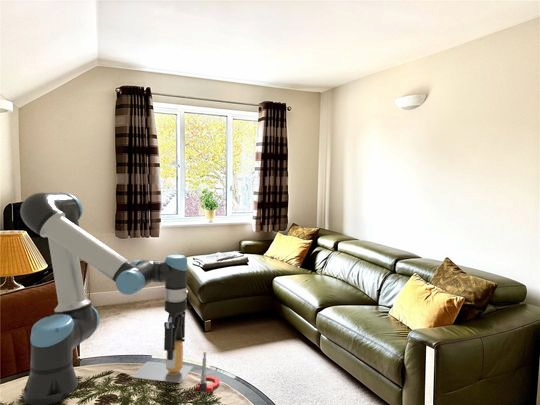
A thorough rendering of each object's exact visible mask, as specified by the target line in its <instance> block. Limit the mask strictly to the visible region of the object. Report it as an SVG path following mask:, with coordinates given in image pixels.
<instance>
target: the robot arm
mask: <svg viewBox="0 0 540 405" xmlns="http://www.w3.org/2000/svg"><path fill="white" fill-rule="evenodd" d="M19 212H20V213H19V214H20V217H21V219H22V222H23V223H24V224H25V225H26V226H27V228H29V229H30V230H31V231H33V232H34V233H36V234H37V235H39V236H40V237H42V238H47V239H48V240H47V241H48V246H49V252H50V258H51V260H50V261H51V265H52V270H53V271H52V272H53V278H54V283H55V284H54V285H55V290H56V295H57V303H58V304H57V306H56V307H55V308H54V310H53V311H54V314H53V315H49V316H44V317H42V318H41V319H39V320H38V321H36V322H35V323H34V324H33V326H32V328H31V333H30V338H29V339H30V340H29V341H30V370H29V372H30V373H29V375H28V378H27V381H26V383H25V387H24V389H23V395H22V396H23V398H22V399H23V401H24V403H26V404H28V405H52V404H56V403H59V402H62V401H64V400H66V399H67V398H70V397H72V395H71V394H70V393H72V391H74V390H75V389H76V388H77V387H78V385H79V379H78V376H77V375H76V372H75V368H74V365H73V356H74V355H73V353H74V352H73V350H74V349H75V348H76V347H78V346H79V345H80V344H81V343H83V342H85V341H86V340H87V339H89V338H91V336H92V335H93V334H94V333H95V332H96V331H97V329H98V327H99V324H100V315H99V312H98V310H97V309H96V308H95V307H94V306H93V305H92V302H91V300H90V299H88V298H87V297H86V293H85V286H84V280H83V275H82V274H83V273H82V267H81V262H80V259H81V260H82V261H83V262H85V263H86V264H88V265H89V266H92V267H93V268H94V269H95V270H97V271H98V272H100V273H101V274H103V275H104V276H106V277H107V278H109V279H110V280H112V281H113V282H115V286H116V288H117V290H118V291H119V293H121V294H123V295H126V296H129V295H133V294H136V293H138V292H140V291H141V290H143V288H146V286H147V285H149V284H151V283H164V299H165V300H164V311H165V313H168V315H167V316H168V318H167V321H165V322H164V324H163V326H164V339H163V340H164V342H163V344H164V345H163V350H164V351H166V360H167V368H172V369H174V368H175V349H174V347H175V340H180V341H182V343H183V342H184V343H185V337H186V336H185V332H186V330H185V329H186V313H187V312H186V310H187V304H188V303H187V301H188V300H187V299H186V298H187V295H188V293H189V291H188V289H187V288H188V270H189V269H188V258H187V256H185V255H182V254H170V255H166V257H165V260H147V259H135V260H133V261H129V260H128V259H127V258H125V257H124V256H122V255H121V254H119V253H118V252H116V251H115V250H113V249H112V248H110V247H109V246H108V245H107V244H105V243H103V242H102V241H101V240H98V239H97V238H95V237H94V236H93V235H91V234H90V233H88V232H86V231H85V230H84V229H82V228H81V227H80V224H79V220H80V219H81V217H82V215H83V204H82V203H81V201H80V200H79V199H78V198H77V197H76V196H74V195H72V194H71V193H67V192H62V191H61V192H37V193H33V194H31V195H29V196H28V197H26V198H25V199H24V200H23V201H22V203H21V206H20V210H19Z"/></svg>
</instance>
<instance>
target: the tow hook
mask: <svg viewBox="0 0 540 405" xmlns="http://www.w3.org/2000/svg"><path fill="white" fill-rule="evenodd" d="M202 356H203V357H202V362H201V363H202V365H201V376H200V381H199V383H198V384H197V385H196V387H195V388H194V391H199V392H209V393H213V390H214V389H216V388H218V387H219V384H220V380H219V378H217V377H215V376H210V375H206V372H207V371H206V369H207V352H206V351H203V355H202ZM208 381H212V382H214V383H212V384H208Z"/></svg>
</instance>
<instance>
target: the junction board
mask: <svg viewBox="0 0 540 405" xmlns="http://www.w3.org/2000/svg"><path fill="white" fill-rule="evenodd" d="M193 367H194V366H193V365H186V364H185V365H184V364H183V366H182V369H181V370H179V371H176V372H170V371H168V370H167V369H166V363H165V362H160V361H159V362H157V361H146V362H145V363H144V364H143V365H142V366H141V367H140V368H139V369H138V370H137V371H135V373H133V375H131V378H135V379H141V380H142V379H143V380H151V381H161V382H169V383H177V384H178V383H179V384H182V382H183V381H184V379H185V378H186V377H187V375H188V374H189V373H190V372H191V371H192V369H193Z"/></svg>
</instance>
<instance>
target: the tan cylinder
mask: <svg viewBox="0 0 540 405" xmlns="http://www.w3.org/2000/svg"><path fill="white" fill-rule="evenodd" d="M174 349H175V368H174V369H172V368H167V359H165V360H166V369H167V370H168V371H170V372H176V371H179V370H181V369H182V366H183V365H184V364H183V361H184V358H183V357H184V355H183V354H184V345H183V342H182V341H180V340H175V347H174Z"/></svg>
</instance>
